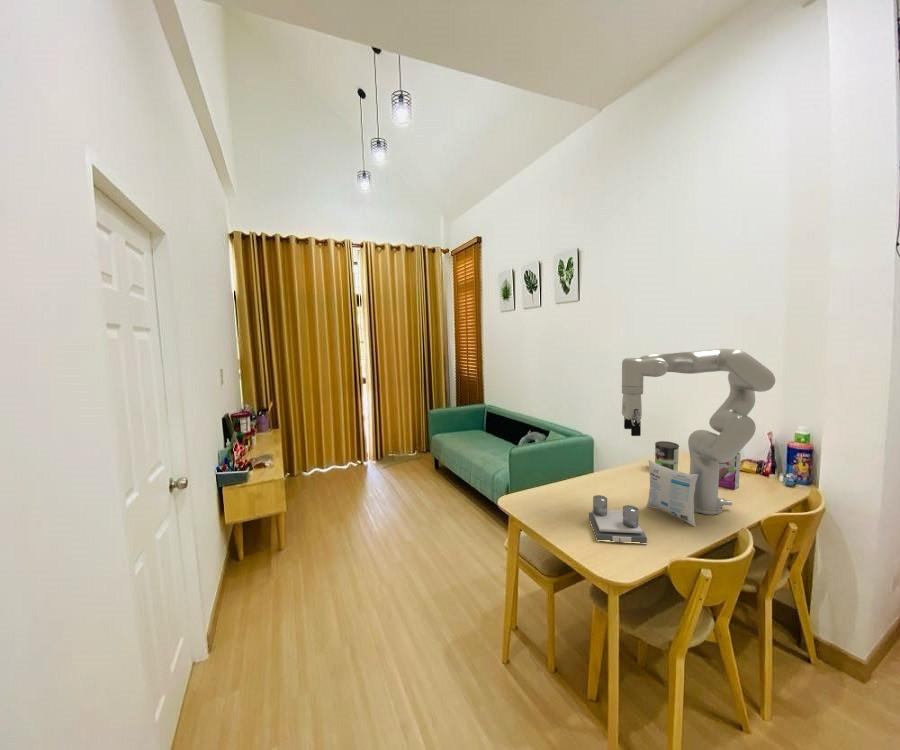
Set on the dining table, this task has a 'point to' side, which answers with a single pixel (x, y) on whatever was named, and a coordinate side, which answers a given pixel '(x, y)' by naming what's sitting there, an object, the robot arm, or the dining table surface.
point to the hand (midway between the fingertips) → (632, 432)
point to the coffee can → (667, 454)
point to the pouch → (672, 491)
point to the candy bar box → (730, 473)
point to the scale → (615, 528)
